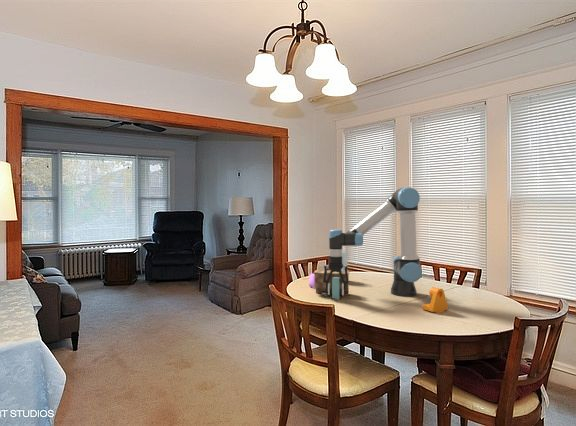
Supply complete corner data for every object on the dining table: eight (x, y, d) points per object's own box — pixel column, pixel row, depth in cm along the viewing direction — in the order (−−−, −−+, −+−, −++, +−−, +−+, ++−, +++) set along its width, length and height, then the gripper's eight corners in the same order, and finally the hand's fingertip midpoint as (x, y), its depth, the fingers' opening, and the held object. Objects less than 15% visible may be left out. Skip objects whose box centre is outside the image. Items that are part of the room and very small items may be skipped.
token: (329, 294, 229) (329, 291, 229) (328, 296, 225) (328, 293, 225) (322, 294, 230) (322, 291, 230) (321, 295, 226) (321, 292, 226)
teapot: (334, 289, 242) (334, 273, 242) (321, 291, 237) (321, 275, 236) (317, 284, 257) (317, 269, 257) (305, 286, 252) (305, 271, 251)
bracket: (436, 307, 199) (436, 284, 198) (447, 310, 192) (447, 287, 192) (421, 310, 194) (421, 287, 193) (432, 313, 187) (432, 290, 187)
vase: (328, 280, 270) (328, 249, 269) (342, 279, 273) (342, 248, 272) (335, 283, 259) (335, 251, 258) (350, 282, 262) (350, 250, 261)
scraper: (340, 294, 227) (340, 275, 227) (339, 299, 216) (339, 278, 216) (334, 294, 228) (334, 274, 227) (332, 299, 217) (332, 278, 217)
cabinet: (349, 293, 230) (349, 271, 229) (348, 296, 222) (348, 273, 221) (315, 291, 235) (315, 270, 234) (313, 295, 226) (313, 272, 226)
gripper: (353, 255, 219) (353, 293, 220) (319, 254, 224) (319, 292, 224) (353, 257, 212) (353, 297, 213) (317, 256, 217) (317, 295, 217)
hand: (335, 294), depth 218 cm, fingers open, 8 cm apart
